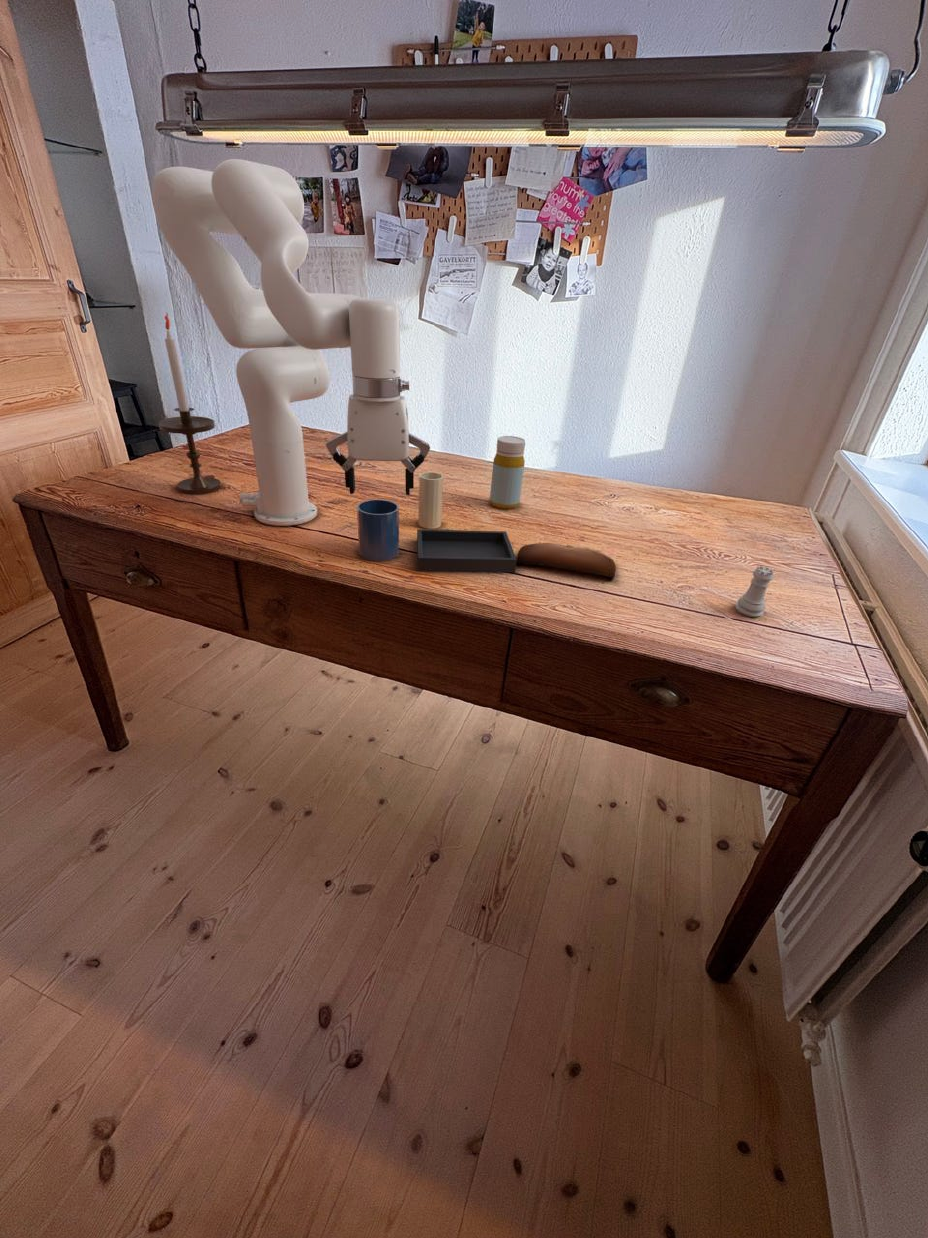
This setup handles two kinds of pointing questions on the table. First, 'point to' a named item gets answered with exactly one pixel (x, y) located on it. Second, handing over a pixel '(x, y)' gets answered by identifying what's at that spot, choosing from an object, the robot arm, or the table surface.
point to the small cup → (430, 499)
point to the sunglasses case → (567, 558)
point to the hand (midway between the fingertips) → (380, 491)
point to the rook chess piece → (755, 593)
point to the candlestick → (187, 425)
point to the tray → (464, 551)
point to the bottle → (507, 472)
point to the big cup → (378, 529)
